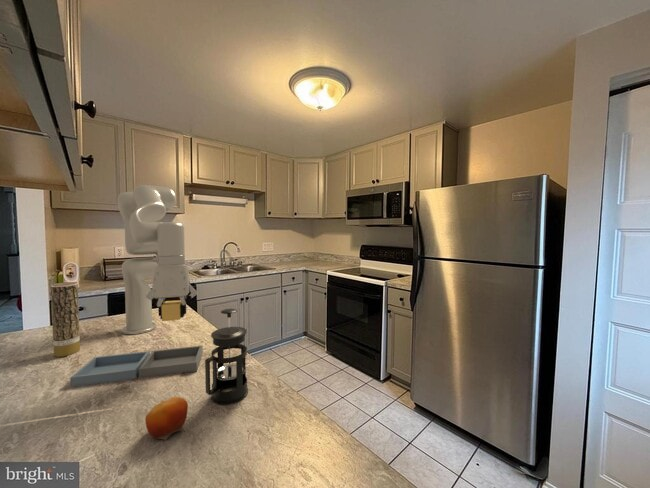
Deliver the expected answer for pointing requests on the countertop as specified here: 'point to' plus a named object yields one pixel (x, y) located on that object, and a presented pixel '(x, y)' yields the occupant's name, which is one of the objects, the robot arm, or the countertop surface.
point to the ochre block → (171, 310)
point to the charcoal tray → (171, 361)
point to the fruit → (167, 417)
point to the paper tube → (65, 318)
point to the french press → (227, 365)
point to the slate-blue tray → (110, 369)
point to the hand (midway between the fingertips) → (172, 316)
